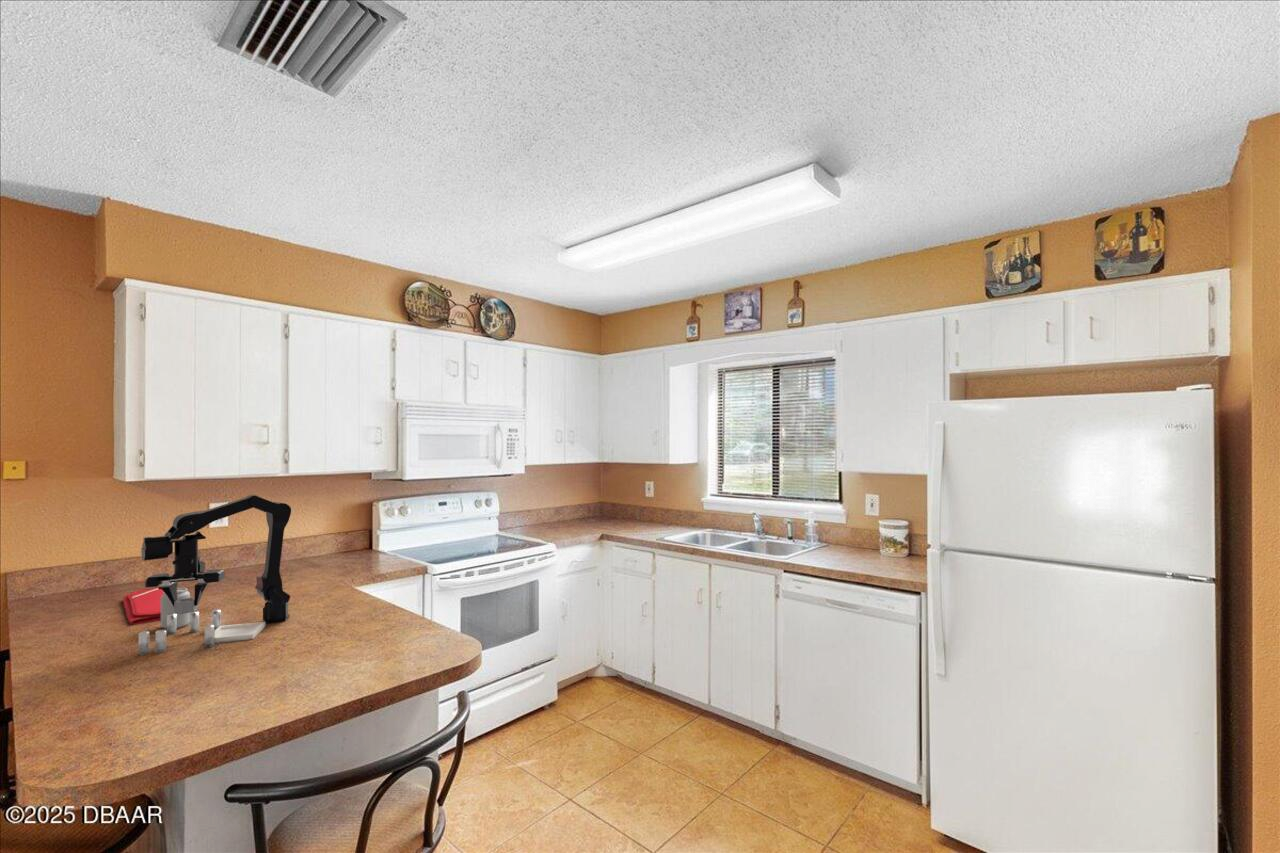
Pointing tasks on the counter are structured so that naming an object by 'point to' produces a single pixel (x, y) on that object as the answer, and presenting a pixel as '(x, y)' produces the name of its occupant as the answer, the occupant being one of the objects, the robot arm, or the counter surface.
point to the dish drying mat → (143, 606)
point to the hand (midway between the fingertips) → (186, 606)
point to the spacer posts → (172, 629)
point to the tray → (237, 632)
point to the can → (169, 609)
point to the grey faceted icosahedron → (185, 606)
